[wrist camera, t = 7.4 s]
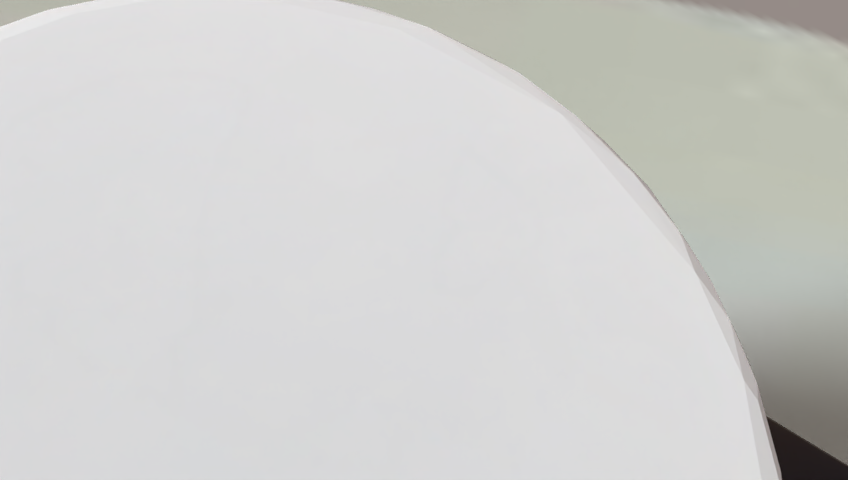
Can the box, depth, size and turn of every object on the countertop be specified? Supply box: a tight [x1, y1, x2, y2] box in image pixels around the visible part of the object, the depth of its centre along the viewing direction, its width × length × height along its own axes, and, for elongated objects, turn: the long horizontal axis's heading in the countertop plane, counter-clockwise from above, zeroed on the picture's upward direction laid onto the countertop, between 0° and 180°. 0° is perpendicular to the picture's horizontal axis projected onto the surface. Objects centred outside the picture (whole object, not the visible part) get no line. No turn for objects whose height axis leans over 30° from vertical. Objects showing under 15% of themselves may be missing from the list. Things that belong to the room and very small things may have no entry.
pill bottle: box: [0, 0, 782, 480], centre depth 9 cm, size 8×7×14 cm
